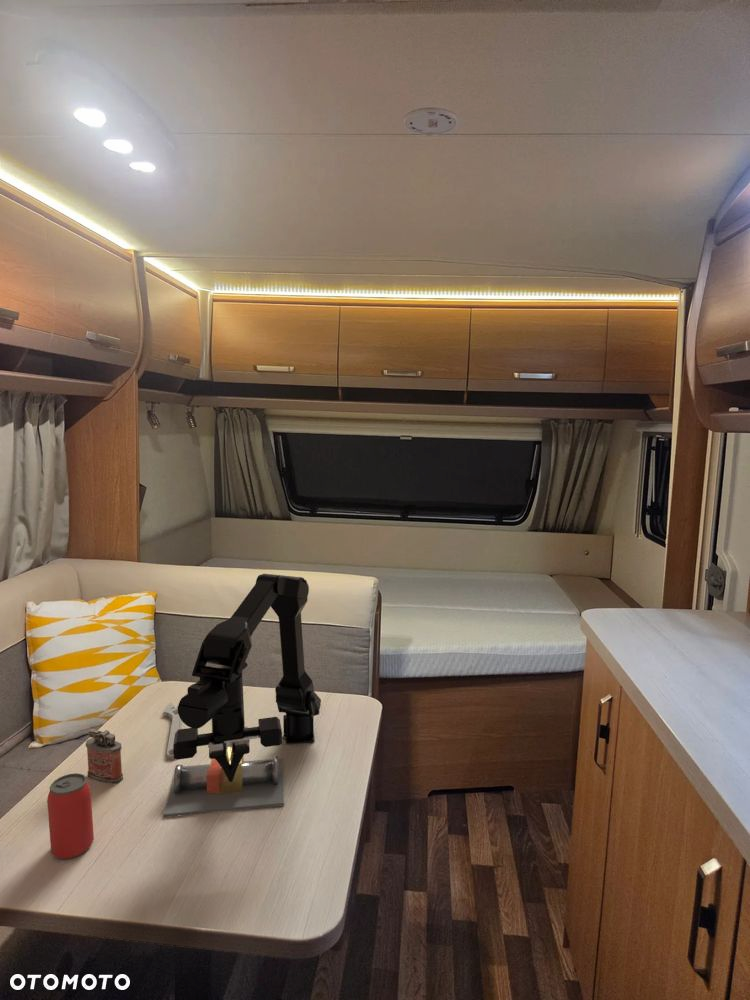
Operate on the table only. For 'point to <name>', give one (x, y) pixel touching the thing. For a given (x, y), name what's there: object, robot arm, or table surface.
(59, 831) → the beer can
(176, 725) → the adjustable wrench
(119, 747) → the lighter
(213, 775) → the lever
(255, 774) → the valve body
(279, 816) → the table surface
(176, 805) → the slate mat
